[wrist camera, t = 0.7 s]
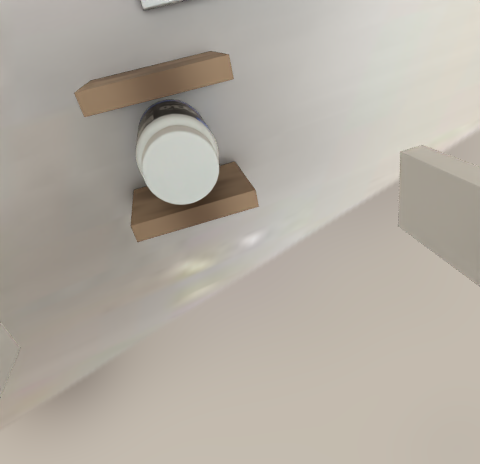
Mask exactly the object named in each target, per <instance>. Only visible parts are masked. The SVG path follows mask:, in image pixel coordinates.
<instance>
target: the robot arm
mask: <svg viewBox="0 0 480 464" xmlns="http://www.w3.org/2000/svg"><path fill="white" fill-rule="evenodd" d="M398 215H399V216H398V226H399V227H400V228H401V229H403V230H404V231H405V232H407V233H408V234H409V235H411V236H412V237H413V238H415V239H416V240H417V241H419V242H420V243H421V244H423V245H424V246H426V247H427V248H428V249H430V250H431V251H432V252H434V253H435V254H436V255H438V256H439V257H441V258H442V259H443V260H444V261H446V262H447V263H448V264H450V265H451V266H453V267H454V268H455V269H457V270H458V271H459V272H461V273H462V274H463V275H465V276H466V277H467V278H469V279H470V280H471V281H473V282H474V283H476V284H477V285H478V286H480V167H479V166H476V165H474V164H471V163H468V162H466V161H463V160H461V159H458V158H455V157H453V156H450V155H448V154H445V153H442V152H440V151H437V150H434V149H432V148H429V147H427V146H424V145H421V146H417V147H414V148H411V149H407V150H404V151H401V152H400V180H399V214H398ZM20 348H21V347H20V346H19V345H18V344H17V342H16V341H15V340H14V339H13V337H12V336H11V335H10V333H9V332H8V331H7V330H6V328H5V327H4V326H3V325H2V323H1V322H0V398H1V395H2V393H3V390H4V388H5V385H6V383H7V380H8V378H9V375H10V373H11V370H12V368H13V365H14V363H15V360H16V358H17V356H18V353H19V351H20Z"/></svg>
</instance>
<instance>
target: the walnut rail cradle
mask: <svg viewBox="0 0 480 464" xmlns="http://www.w3.org/2000/svg"><path fill="white" fill-rule="evenodd" d="M232 79H234V78H233V73H232V68H231V63H230V58H229V54H223V53H218V52H213V51H209V52H205V53H201V54H197V55H193V56H189V57H185V58H181V59H177V60H173V61H168V62H164V63H160V64H156V65H152V66H148V67H144V68H140V69H136V70H132V71H128V72H124V73H120V74H116V75H111V76H107V77H103V78H99V79H95V80H91V81H89V82H88V83H87V84H85V85H84V86H83V87H81V88H80V89H79V90H77V91H76V92H75V93H74V94H75V96H76V98H77V101H78V103H79V105H80V108H81V110H82V112H83V115H84V117H87V116H91V115H95V114H99V113H103V112H107V111H111V110H115V109H119V108H122V107H126V106H130V105H134V104H138V103H142V102H146V101H150V100H154V99H158V98H162V97H166V96H169V95H173V94H177V93H181V92H185V91H189V90H193V89H197V88H201V87H205V86H209V85H213V84H217V83H220V82H224V81H228V80H232ZM255 207H259V206H258V201H257V195H256V190H255V189H254V187H253V186H252V184H251V183H250V182H249V180H248V179H247V178H246V176H245V175H244V173H243V172H242V171H241V169H240V168H239V167H238V165H237V164H236V162H232V163H228V164H224V165H221V166H219V175H218V179H217V182H216V184H215V186H214V187H213V189H212V190H211V191H210V192H209V193H208V194H207V195H206V196H205V197H204V198H202V199H201V200H199V201H197V202H194V203H190V204H184V205H178V204H171V203H168V202H165V201H163V200H161V199H160V198H158V197H157V196H156V195H154V194H153V193H152V192H151V191H150V189H149V188H148V186H146V187H142V188H139V189H135V190H134V192H133V204H132V216H131V228H132V230H133V233H134V235H135V237H136V240H137V242H140V241H143V240H147V239H150V238H153V237H157V236H160V235H164V234H167V233H170V232H174V231H177V230H181V229H184V228H187V227H191V226H194V225H198V224H201V223H204V222H208V221H211V220H215V219H218V218H221V217H225V216H228V215H232V214H235V213H238V212H242V211H245V210H248V209H252V208H255Z"/></svg>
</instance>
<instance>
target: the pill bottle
mask: <svg viewBox="0 0 480 464" xmlns="http://www.w3.org/2000/svg"><path fill="white" fill-rule="evenodd" d="M218 160H219V151H218V146H217V143H216V140H215V138H214V136H213V134H212V132H211V131H210V129H209V128H208V127H207V125H206V123H205V122H204V121H203V119H202V118H201V116H200V115H199V113H198V112H197V111H196V110H195V109H194V108H192V107H191V106H190V105H188V104H186V103H184V102H181V101H178V100H163V101H160V102H157V103H155V104H153V105H152V106H151V107H149V108H148V109H147V110H146V112H145V113H144V114H143V116H142V118H141V120H140V124H139V128H138V135H137V144H136V162H137V166H138V168H139V170H140V172H141V174H142V176H143V178H144V181H145V183H146V185H147V186H148V188H149V189H150V191H151V192H152V193H153V194H154V195H156V196H157V197H158V198H160V199H161V200H163V201H165V202H168V203H171V204H178V205H184V204H190V203H194V202H197V201H199V200H201V199H202V198H204V197H205V196H206V195H207V194H208V193H209V192H210V191H211V190H212V189H213V187H214V186H215V184H216V182H217V179H218V175H219V161H218Z"/></svg>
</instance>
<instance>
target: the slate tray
mask: <svg viewBox="0 0 480 464" xmlns="http://www.w3.org/2000/svg"><path fill="white" fill-rule="evenodd" d="M183 1H187V0H141V4H142V7H143V10H148V9H152V8H157V7H161V6H166V5H170V4H174V3H179V2H183Z"/></svg>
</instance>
